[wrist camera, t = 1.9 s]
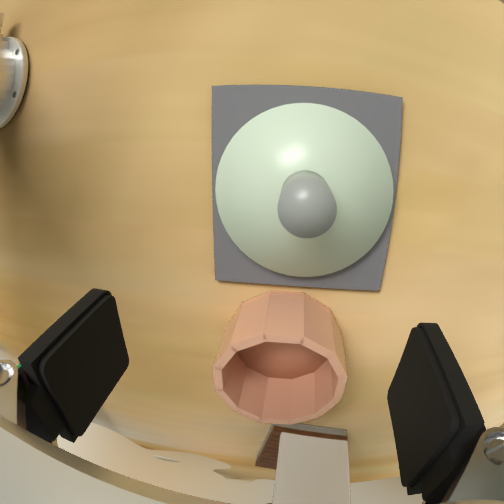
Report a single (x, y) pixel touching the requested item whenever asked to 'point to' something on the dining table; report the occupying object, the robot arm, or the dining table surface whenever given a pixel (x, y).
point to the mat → (270, 96)
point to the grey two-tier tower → (307, 464)
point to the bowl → (281, 359)
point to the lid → (304, 189)
